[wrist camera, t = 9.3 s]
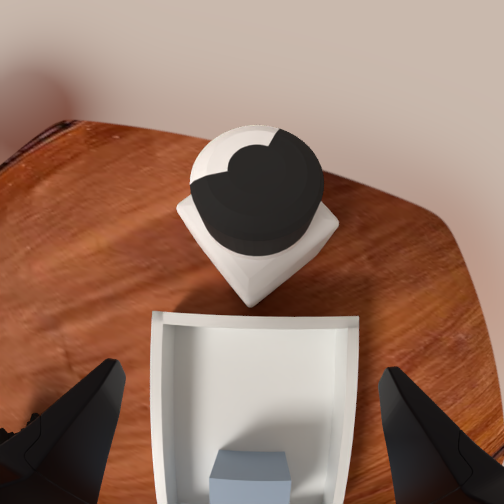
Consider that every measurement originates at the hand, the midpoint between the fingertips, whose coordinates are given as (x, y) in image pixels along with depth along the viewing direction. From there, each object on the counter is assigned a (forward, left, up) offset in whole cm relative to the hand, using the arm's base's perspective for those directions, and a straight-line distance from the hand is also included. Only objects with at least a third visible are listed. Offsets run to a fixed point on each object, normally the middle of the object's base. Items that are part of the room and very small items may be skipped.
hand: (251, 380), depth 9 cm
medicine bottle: (+7, -4, -13) cm, 16 cm away
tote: (-6, +3, -13) cm, 15 cm away
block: (-9, +5, -12) cm, 16 cm away
